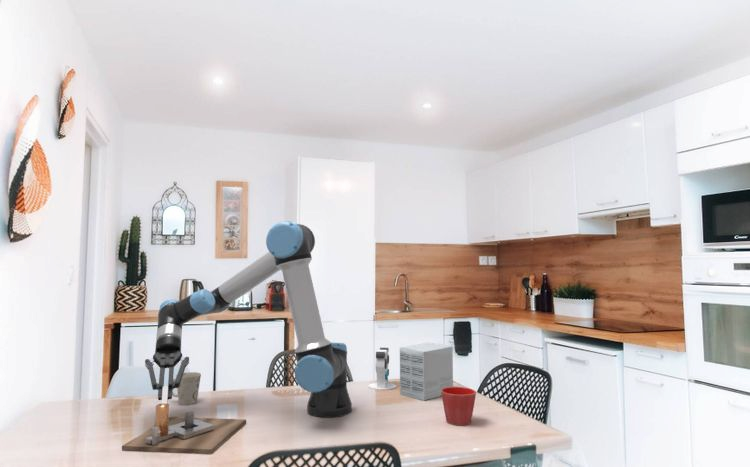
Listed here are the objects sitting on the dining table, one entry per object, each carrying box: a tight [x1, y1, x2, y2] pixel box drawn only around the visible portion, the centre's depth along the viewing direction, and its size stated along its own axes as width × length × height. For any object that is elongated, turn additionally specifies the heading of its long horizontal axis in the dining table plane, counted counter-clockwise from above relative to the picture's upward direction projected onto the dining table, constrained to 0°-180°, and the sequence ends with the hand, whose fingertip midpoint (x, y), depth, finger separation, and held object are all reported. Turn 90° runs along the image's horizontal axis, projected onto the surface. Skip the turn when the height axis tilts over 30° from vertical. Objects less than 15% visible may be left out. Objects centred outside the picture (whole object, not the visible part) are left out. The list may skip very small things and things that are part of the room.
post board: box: [121, 410, 247, 455], centre depth 141 cm, size 25×25×7 cm
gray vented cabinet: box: [399, 342, 454, 402], centre depth 188 cm, size 17×13×18 cm
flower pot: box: [441, 386, 477, 426], centre depth 154 cm, size 11×11×10 cm
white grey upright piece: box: [368, 347, 397, 391], centre depth 199 cm, size 12×11×15 cm
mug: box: [172, 371, 202, 406], centre depth 176 cm, size 8×13×10 cm, turn 78°
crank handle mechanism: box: [145, 403, 214, 444], centre depth 138 cm, size 18×10×9 cm, turn 144°
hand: (164, 408), depth 139 cm, fingers closed
